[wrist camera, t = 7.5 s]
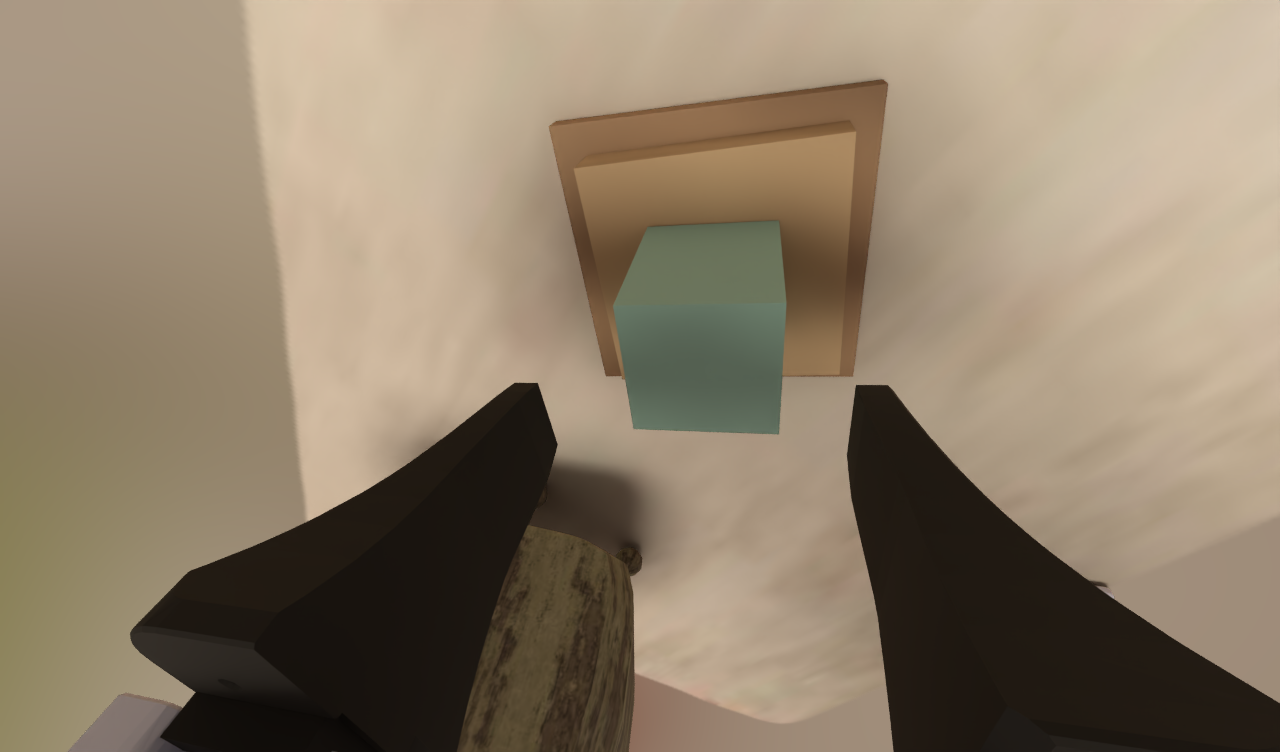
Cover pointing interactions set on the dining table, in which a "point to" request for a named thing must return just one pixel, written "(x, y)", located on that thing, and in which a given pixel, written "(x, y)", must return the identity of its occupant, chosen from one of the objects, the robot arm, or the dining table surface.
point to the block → (704, 328)
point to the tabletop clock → (557, 651)
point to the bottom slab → (725, 120)
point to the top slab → (738, 217)
